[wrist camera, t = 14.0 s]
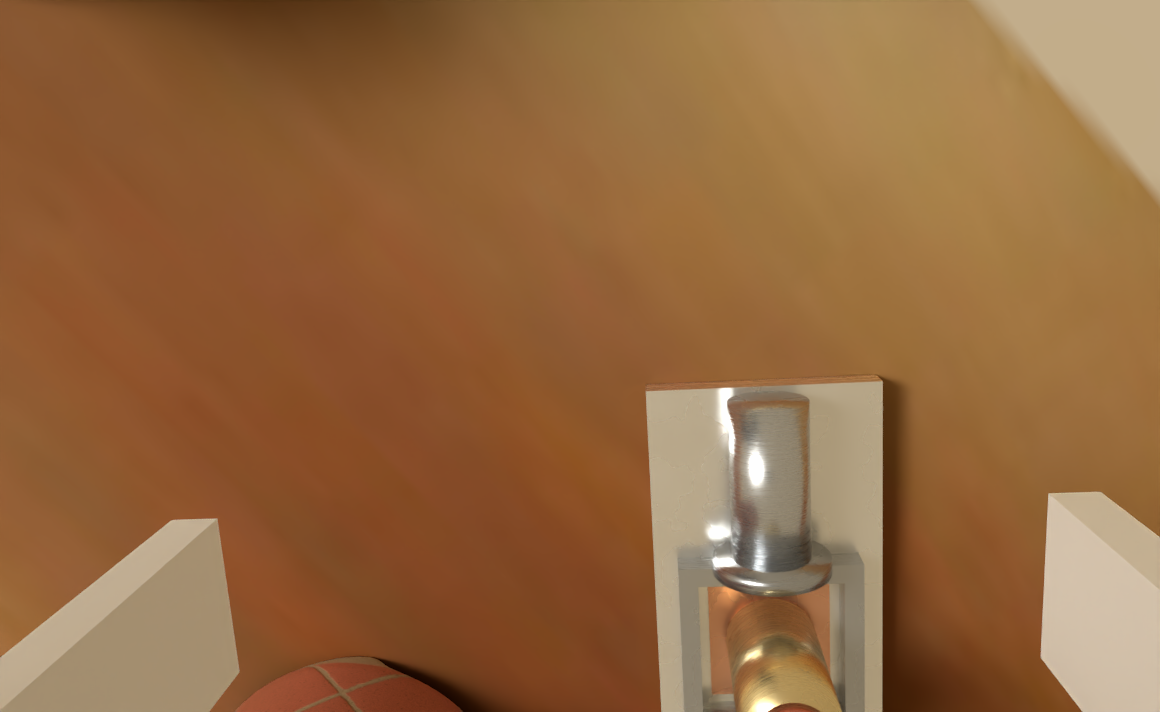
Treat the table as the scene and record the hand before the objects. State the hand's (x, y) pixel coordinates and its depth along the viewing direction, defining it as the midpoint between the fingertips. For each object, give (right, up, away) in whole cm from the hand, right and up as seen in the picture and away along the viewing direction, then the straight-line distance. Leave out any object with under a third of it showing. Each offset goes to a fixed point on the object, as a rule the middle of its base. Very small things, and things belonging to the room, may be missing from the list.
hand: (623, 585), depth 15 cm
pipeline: (+10, -11, +39) cm, 41 cm away
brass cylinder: (+10, -12, +37) cm, 40 cm away
